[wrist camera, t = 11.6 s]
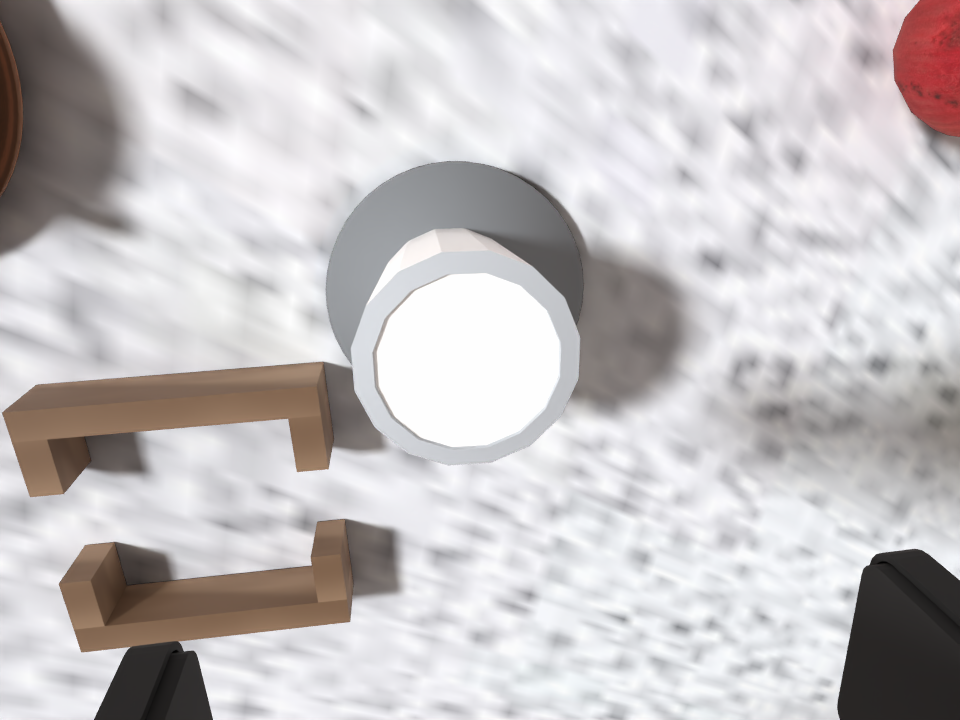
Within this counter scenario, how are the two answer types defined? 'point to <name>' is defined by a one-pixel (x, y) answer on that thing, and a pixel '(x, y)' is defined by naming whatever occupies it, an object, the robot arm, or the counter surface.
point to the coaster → (444, 205)
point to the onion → (931, 63)
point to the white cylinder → (464, 350)
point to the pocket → (167, 405)
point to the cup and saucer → (9, 111)
